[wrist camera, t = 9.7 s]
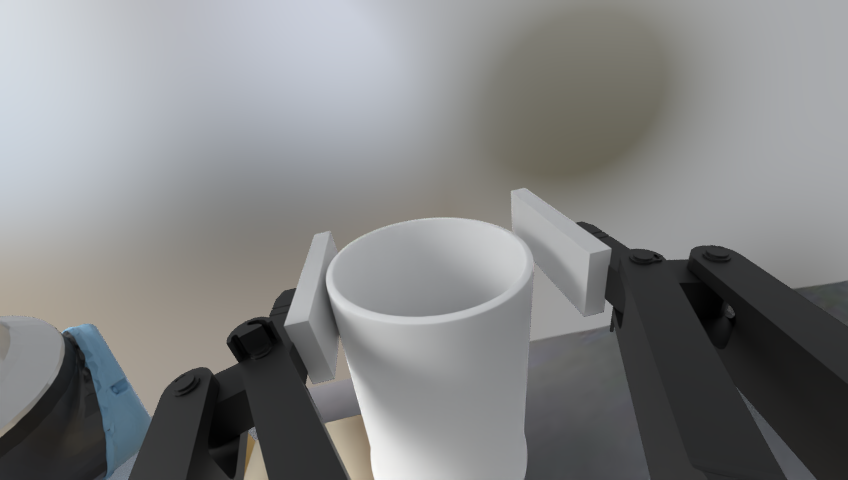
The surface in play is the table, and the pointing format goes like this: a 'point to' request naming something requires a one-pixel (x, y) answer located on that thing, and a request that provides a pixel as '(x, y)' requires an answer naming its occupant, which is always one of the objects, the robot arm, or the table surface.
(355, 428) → the footstool
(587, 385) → the table surface
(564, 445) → the table surface
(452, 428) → the mug
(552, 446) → the table surface
